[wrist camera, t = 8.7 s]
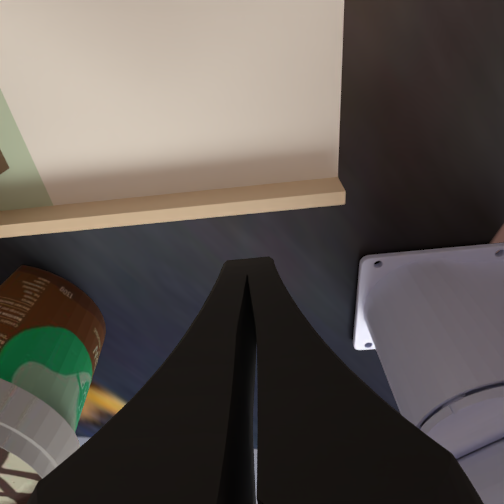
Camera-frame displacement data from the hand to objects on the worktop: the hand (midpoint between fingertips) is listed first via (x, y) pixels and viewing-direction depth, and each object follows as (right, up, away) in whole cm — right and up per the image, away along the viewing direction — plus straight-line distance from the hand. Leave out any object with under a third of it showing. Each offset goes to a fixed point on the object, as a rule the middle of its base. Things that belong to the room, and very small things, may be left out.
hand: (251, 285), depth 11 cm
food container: (-12, -4, +14) cm, 19 cm away
